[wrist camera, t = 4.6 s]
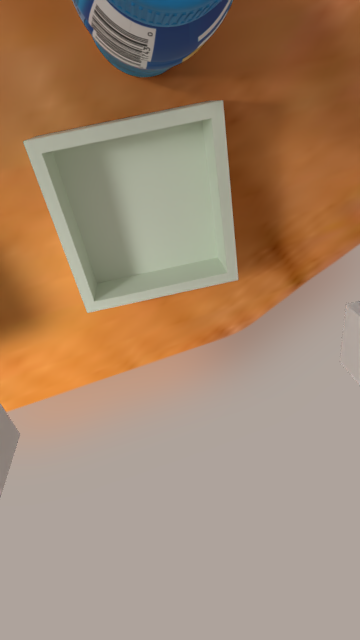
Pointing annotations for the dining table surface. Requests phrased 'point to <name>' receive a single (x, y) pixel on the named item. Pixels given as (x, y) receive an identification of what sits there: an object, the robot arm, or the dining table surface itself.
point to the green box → (141, 203)
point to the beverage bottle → (150, 30)
